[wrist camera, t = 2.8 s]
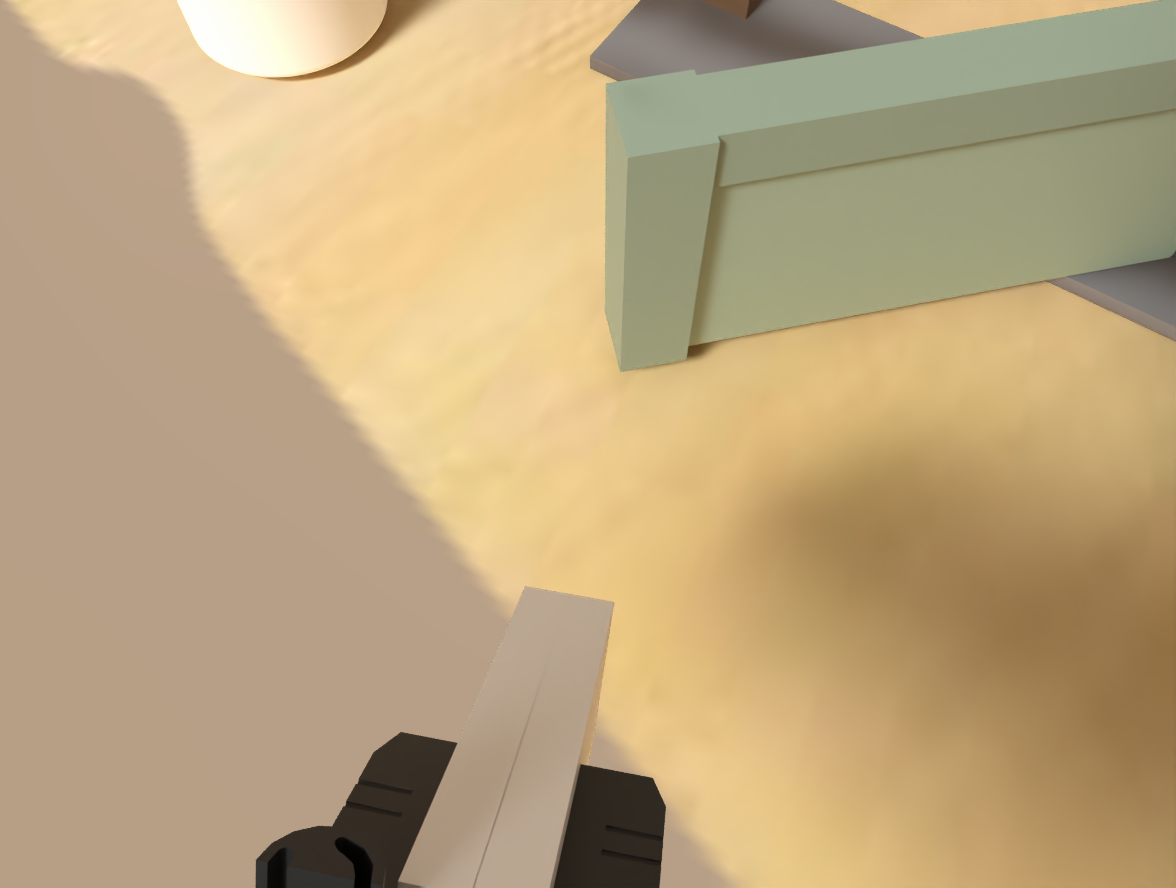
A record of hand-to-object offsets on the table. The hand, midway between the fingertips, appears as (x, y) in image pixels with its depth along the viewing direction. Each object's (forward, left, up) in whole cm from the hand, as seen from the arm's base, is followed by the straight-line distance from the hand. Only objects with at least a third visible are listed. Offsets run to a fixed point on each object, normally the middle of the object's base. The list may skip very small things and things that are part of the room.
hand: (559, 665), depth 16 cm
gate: (+8, -17, -11) cm, 22 cm away
